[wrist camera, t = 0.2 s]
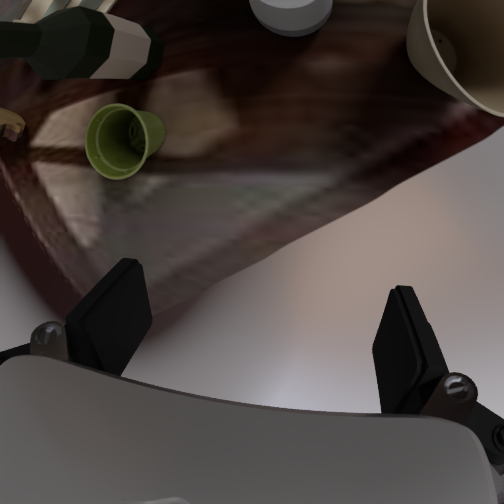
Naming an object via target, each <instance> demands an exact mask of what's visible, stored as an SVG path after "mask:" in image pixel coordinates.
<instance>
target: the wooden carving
mask: <svg viewBox="0 0 504 504" xmlns="http://www.w3.org/2000/svg"><path fill="white" fill-rule="evenodd" d="M25 125H26V124H25V122H24V120H23V119H22V118H21V117H20V116H19V115H17V114H16V113H14V112H12V111H9V110H6V109H3V108H1V107H0V137H6V138H7V139H9V140H10V141H17V139H18V137H21V136H22V133H23V130H24V127H25Z"/></svg>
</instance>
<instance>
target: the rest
mask: <svg viewBox="0 0 504 504" xmlns="http://www.w3.org/2000/svg"><path fill="white" fill-rule="evenodd" d="M117 1H118V0H32V2H31V4H30V5H29V7H28V9H27V10H26V12H25V14H24V15H23V17H22V19H21V20H13V22H20V23H32V24H34V23H35V22H37V21H39V20H41V19H42V18H44V17H46V16H48V15H50V14H51V13H53V12H55V11H57V10H62V9H66V8H71V7H75V6H82V7H85V8H89V9H93V10H96V11H100V12H103V13H106V14H107V13H108V12H109V11H110V9H111V8H112V7H113V6H114V4H115V3H116V2H117Z"/></svg>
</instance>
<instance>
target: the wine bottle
mask: <svg viewBox="0 0 504 504" xmlns="http://www.w3.org/2000/svg"><path fill="white" fill-rule="evenodd" d="M164 46H165V44H164V43H163V41H162V40H161V39H160V37H159V36H158V35H157V33H156V32H155V31H154V30H153V29H150V28H148V27H145V26H142V25H140V24H137V23H134V22H131V21H128V20H125V19H122V18H119V17H116V16H113V15H110V14H106V13H103V12H100V11H96V10H93V9H89V8H85V7H82V6H75V7H71V8H66V9H62V10H57V11H55V12H53V13H51V14H50V15H48V16H46V17H44V18H42V19H41V20H39V21H37V22H35V23H34V24H32V23H20V22H0V59H18V58H23V59H24V60H25V61H26V62H27V63H28V64H29V65H30V66H31V67H32V68H33V69H34V70H35V72H36V73H37V74H38V75H39V76H40V77H41V78H42V79H43V80H52V79H79V78H107V79H135V80H144V79H145V78H147V77H148V76H149V75H150V74H151V73H152V72H154V71H155V70H156V69H157V68H158V67H160V66H161V61H162V56H163V51H164Z"/></svg>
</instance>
